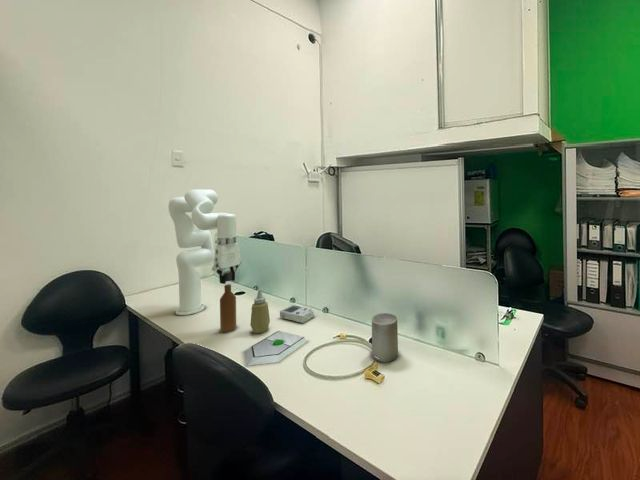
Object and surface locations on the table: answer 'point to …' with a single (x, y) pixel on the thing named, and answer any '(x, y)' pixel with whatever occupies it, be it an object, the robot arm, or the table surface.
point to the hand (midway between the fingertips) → (227, 281)
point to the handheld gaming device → (297, 313)
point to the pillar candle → (384, 337)
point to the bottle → (227, 310)
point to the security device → (273, 348)
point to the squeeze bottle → (260, 314)
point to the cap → (228, 275)
